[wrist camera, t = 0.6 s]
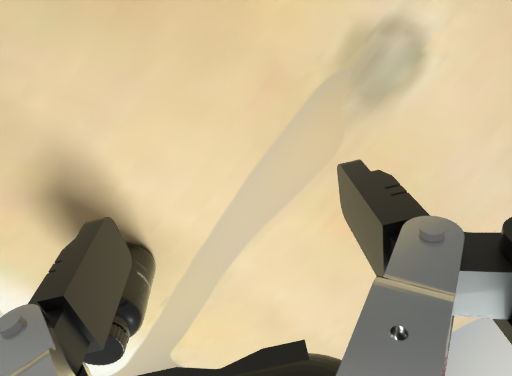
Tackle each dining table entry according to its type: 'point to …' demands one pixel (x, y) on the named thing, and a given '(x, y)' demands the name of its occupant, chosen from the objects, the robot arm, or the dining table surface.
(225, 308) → the dining table surface
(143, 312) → the supplement bottle
